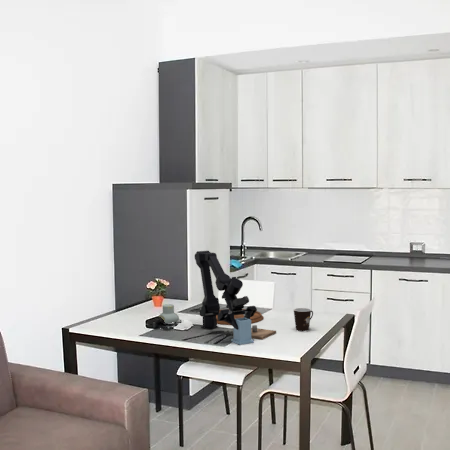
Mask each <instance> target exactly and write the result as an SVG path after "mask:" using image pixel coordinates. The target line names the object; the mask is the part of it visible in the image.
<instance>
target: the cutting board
mask: <svg viewBox="0 0 450 450" xmlns="http://www.w3.org/2000/svg"><path fill="white" fill-rule="evenodd" d="M223 309H224V308H223ZM223 309H220V310H219V313H220V311H221V310H223ZM242 310H246V308H242ZM216 318H217V325H220V326H221V325H222V326H231V325H230V324H229V323H227V322H225V321H219V320H218V315H216ZM237 318H244V315H243V314H242V315H234V319H237ZM250 320H251V325H253V324H257V323H260V322H262V321H263V320H264V316H263V314H262V313H261V312H260V311H258V310H257V311H256V312H255V314H254V316H252V317H250Z"/></svg>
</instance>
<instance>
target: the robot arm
mask: <svg viewBox="0 0 450 450" xmlns="http://www.w3.org/2000/svg"><path fill="white" fill-rule="evenodd" d="M194 260H195V264H196V266H197V267H198V268H199V269H200V277H201V282H202V288H203V295H204V297H203V300H202V303H201V305H202V306H201V308H200V310H199V316H200V317H202V326H200V328H202V329H207V330H213V329H215V328H218V327H219V325H218V324H217V318H216V315H218V320H219V321H225V322H227V323H229V324H230V325H229V326H232V327H233V329H234V328H235V329H237V330H238V329H239V328H238V325H237V323H236V321H235V319H234V315H242V314H243V315H244V317H245V318H247V319H250V317H252V316H254V314H255V312H256V311H258V308H257V307H256V305H249V306H246V305H248V304H249V303H250V299H249V297H248V295H245V296H242V297H238V296H237V295H238V294H240V293H239V292H240V291H241V289H242V288H243V286H244V285H243V284H244V283H243V281H242V280H241V279H239V278H237V276H232V277H231V276H229V275H228V274H227V273H226V272H225V270H224V269H223V267H222V265H221V263H220V262H219V259H218V257H217V253H216V252H211V251H210V250H201V251H196V253H195V254H194ZM211 271H212V273H213V276H214V277H215V283H214V284H215V286H216V289H217V290H218V291H220V292H222V291H223V292H222V294H221V299H224V302H225V303H226V306H225V307H226V308H225V309H224V308H223V310H222V309H221V306H220V301H219V298H218V297H216V296H215V294H214V287H213V281H212V273H211ZM245 306H246V308H245ZM242 309H246V310H242ZM219 310H221V311H220V313H219Z"/></svg>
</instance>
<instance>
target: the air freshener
mask: <svg viewBox="0 0 450 450" xmlns="http://www.w3.org/2000/svg"><path fill="white" fill-rule="evenodd" d="M158 317H161V318H162V319H163V320H164V322H165V323H172V322H176V323H177V321H180V317H179V314H178V313H176V312H175V306H174V304H173V303H167V304H166V303H164V304H163V305H162V312H161V313H160V314H159V315H158Z"/></svg>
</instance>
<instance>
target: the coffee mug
mask: <svg viewBox="0 0 450 450" xmlns="http://www.w3.org/2000/svg"><path fill="white" fill-rule="evenodd" d="M293 316H294V324H295V330H296V331H297V330H298V331H297V332H308V331H309V330H310V322H311V320H312V318H313V316H314V311H313V310H312V309H311V308H307V307H296V308H294V309H293ZM307 330H308V331H307Z"/></svg>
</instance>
